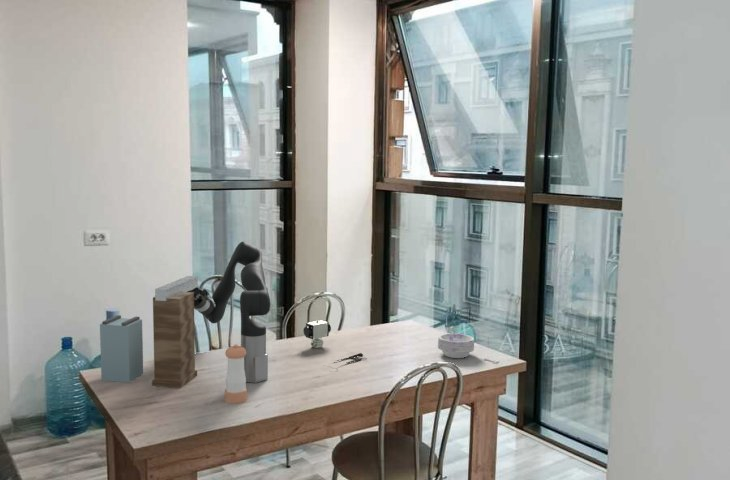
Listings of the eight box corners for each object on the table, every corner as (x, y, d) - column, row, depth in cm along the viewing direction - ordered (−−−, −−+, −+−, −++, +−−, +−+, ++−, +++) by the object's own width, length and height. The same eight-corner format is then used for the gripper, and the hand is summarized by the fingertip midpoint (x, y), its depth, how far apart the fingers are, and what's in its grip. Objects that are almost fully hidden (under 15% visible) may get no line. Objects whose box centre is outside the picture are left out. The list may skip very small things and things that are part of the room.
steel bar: (166, 301, 229) (165, 289, 228) (155, 300, 230) (155, 289, 229) (197, 286, 254) (197, 276, 254) (187, 286, 255) (187, 275, 254)
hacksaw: (360, 355, 280) (360, 352, 279) (377, 361, 272) (377, 357, 272) (316, 366, 263) (316, 363, 263) (332, 373, 256) (333, 369, 256)
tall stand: (180, 388, 235) (179, 299, 231) (151, 385, 237) (150, 298, 233) (197, 375, 249) (196, 291, 245) (169, 373, 251) (168, 290, 247)
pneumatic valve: (331, 346, 291) (331, 319, 290) (309, 350, 284) (309, 323, 282) (323, 343, 295) (323, 316, 294) (301, 347, 288) (302, 320, 286)
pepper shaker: (250, 397, 228) (250, 342, 226) (241, 404, 221) (241, 348, 219) (230, 394, 230) (230, 341, 227) (221, 402, 223) (221, 346, 220)
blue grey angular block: (129, 382, 240) (128, 323, 237) (101, 380, 241) (99, 321, 239) (143, 374, 249) (142, 316, 247) (116, 371, 251) (114, 315, 248)
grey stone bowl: (462, 349, 291) (463, 331, 290) (480, 359, 277) (481, 340, 276) (431, 351, 286) (432, 333, 285) (447, 362, 272) (448, 343, 271)
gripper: (184, 290, 277) (168, 277, 262) (216, 292, 275) (203, 279, 260) (180, 308, 274) (164, 296, 259) (213, 310, 272) (199, 298, 257)
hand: (184, 287), depth 259 cm, fingers open, 8 cm apart
